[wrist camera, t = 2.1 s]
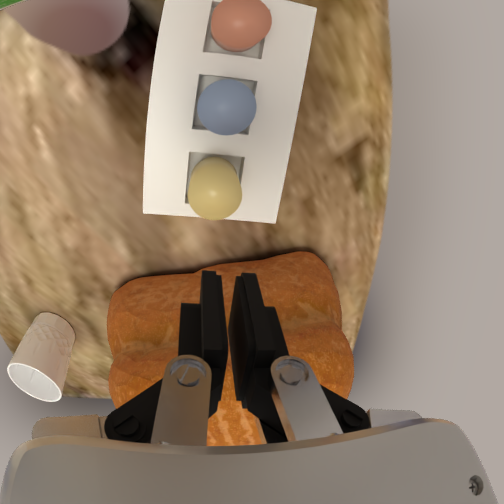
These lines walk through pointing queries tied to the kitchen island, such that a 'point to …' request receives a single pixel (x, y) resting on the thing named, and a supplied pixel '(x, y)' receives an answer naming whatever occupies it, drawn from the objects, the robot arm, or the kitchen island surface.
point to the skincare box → (9, 3)
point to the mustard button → (214, 189)
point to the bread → (188, 291)
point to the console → (201, 76)
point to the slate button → (226, 107)
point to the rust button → (240, 24)
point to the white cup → (43, 357)
